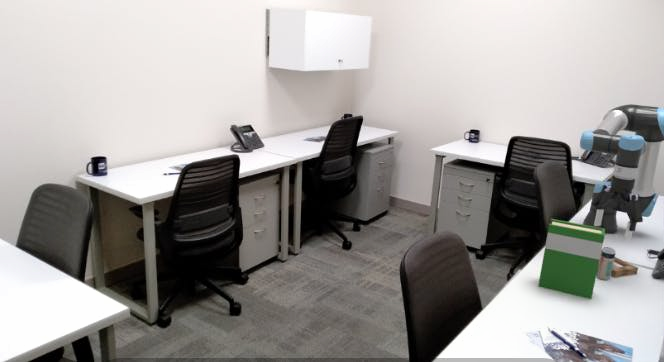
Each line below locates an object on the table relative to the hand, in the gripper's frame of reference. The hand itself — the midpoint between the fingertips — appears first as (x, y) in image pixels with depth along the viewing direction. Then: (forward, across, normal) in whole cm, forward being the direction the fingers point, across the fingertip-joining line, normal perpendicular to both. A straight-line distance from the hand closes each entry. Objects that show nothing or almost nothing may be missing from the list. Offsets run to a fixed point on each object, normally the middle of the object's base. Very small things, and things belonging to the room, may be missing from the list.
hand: (611, 231), depth 197 cm
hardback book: (+19, +3, -22) cm, 29 cm away
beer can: (+19, 0, 0) cm, 19 cm away
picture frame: (+19, -5, +11) cm, 22 cm away
